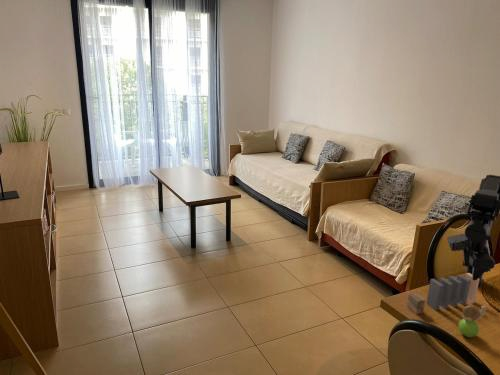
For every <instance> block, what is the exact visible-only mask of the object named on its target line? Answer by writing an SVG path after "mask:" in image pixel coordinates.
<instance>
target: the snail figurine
mask: <svg viewBox="0 0 500 375" xmlns="http://www.w3.org/2000/svg"><path fill="white" fill-rule="evenodd" d="M488 305H489V303H488V302H487V301H486V302H485V305H482V306H481V310H479V308H478V307H477V306H474V305H465V307H463V309H462V314H463V315H461V318H462V319H461V320H460V321H459V322H458V325H457V326H458V331H459V332H460V333H461V334H462V335H463V336H465V337H467V338H474V337H476V336H477V335H478V334H479V331H480V327H479V324H478V323H477V321H479V320H481V319H482V318H483V316H484V315H485V313H486V311H487V309H488Z"/></svg>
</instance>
